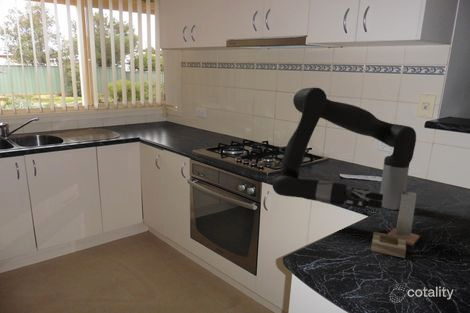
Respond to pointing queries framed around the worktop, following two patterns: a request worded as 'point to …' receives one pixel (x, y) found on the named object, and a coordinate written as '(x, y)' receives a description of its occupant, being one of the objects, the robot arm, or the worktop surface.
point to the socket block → (389, 244)
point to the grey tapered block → (406, 214)
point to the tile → (408, 241)
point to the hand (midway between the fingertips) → (382, 201)
